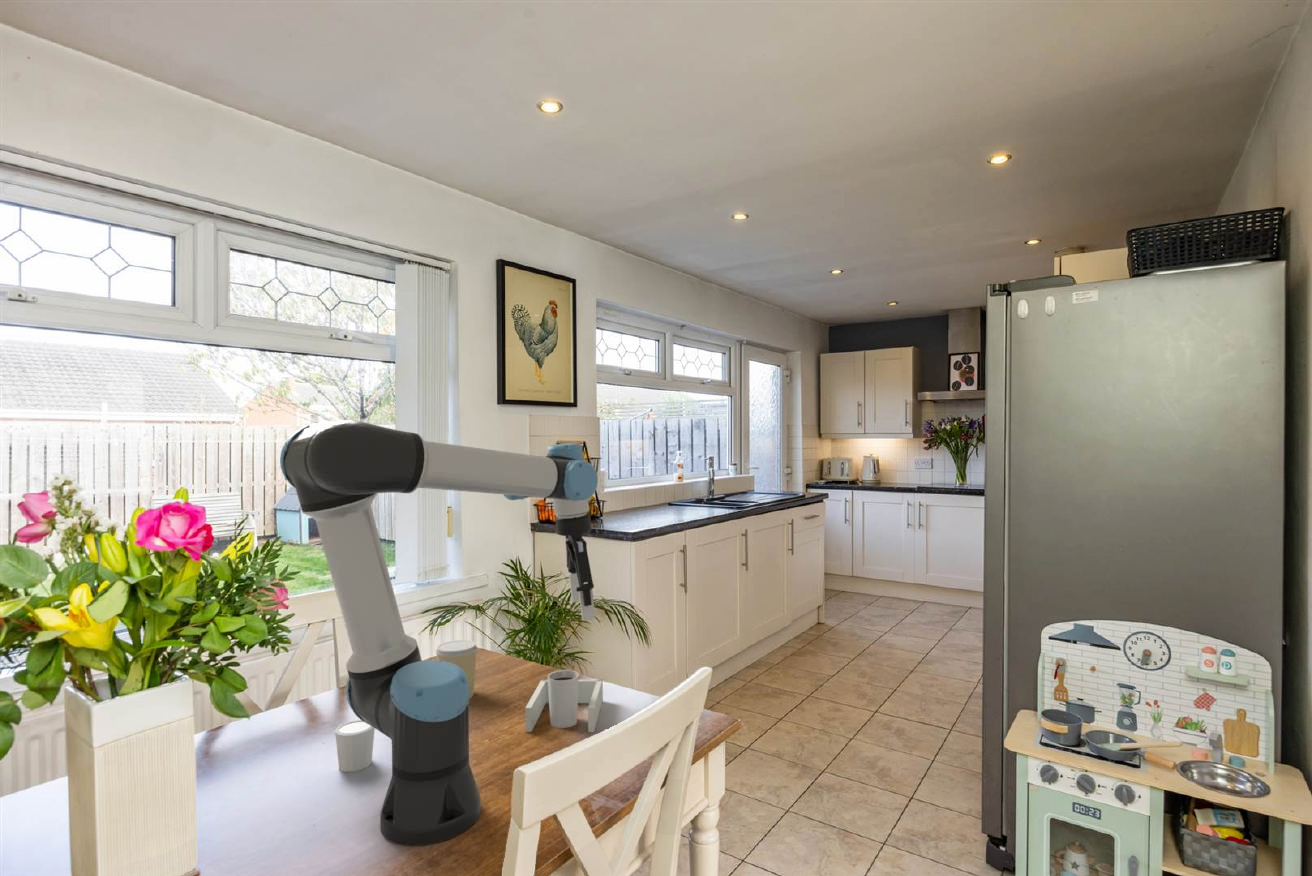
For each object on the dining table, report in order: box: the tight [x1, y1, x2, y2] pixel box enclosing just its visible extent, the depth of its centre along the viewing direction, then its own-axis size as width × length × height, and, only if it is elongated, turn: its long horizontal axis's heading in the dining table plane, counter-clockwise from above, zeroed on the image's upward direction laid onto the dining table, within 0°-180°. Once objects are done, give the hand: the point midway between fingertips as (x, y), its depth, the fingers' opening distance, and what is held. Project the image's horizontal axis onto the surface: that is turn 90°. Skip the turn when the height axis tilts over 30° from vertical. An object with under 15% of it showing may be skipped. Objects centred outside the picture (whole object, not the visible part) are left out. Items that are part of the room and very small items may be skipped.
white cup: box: [547, 669, 580, 729], centre depth 143 cm, size 7×7×10 cm
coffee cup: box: [435, 639, 478, 699], centre depth 159 cm, size 9×9×12 cm
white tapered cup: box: [334, 720, 376, 773], centre depth 125 cm, size 7×7×7 cm
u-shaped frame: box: [524, 679, 604, 733], centre depth 146 cm, size 14×17×5 cm
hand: (583, 610), depth 146 cm, fingers open, 13 cm apart
